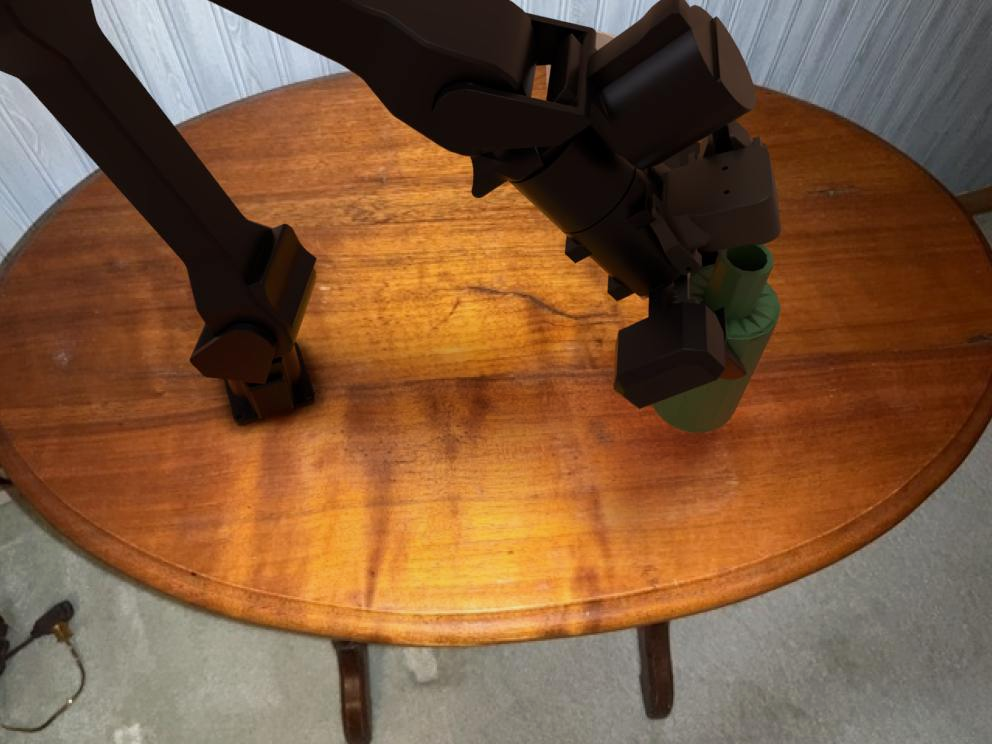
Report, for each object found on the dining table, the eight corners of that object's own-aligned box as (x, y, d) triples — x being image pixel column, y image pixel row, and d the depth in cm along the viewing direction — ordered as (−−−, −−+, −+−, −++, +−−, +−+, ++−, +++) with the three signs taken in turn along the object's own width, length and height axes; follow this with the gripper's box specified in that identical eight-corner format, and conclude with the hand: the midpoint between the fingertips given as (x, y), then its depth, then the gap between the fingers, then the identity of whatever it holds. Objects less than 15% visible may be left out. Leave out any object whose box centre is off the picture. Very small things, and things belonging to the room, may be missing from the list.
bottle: (633, 378, 62) (674, 235, 50) (705, 353, 64) (761, 209, 52) (677, 445, 59) (731, 308, 47) (751, 416, 61) (822, 278, 49)
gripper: (727, 247, 37) (878, 413, 45) (713, 21, 48) (836, 187, 56) (539, 337, 43) (700, 467, 52) (565, 120, 54) (695, 256, 63)
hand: (737, 335), depth 55 cm, fingers closed on bottle, 6 cm apart
